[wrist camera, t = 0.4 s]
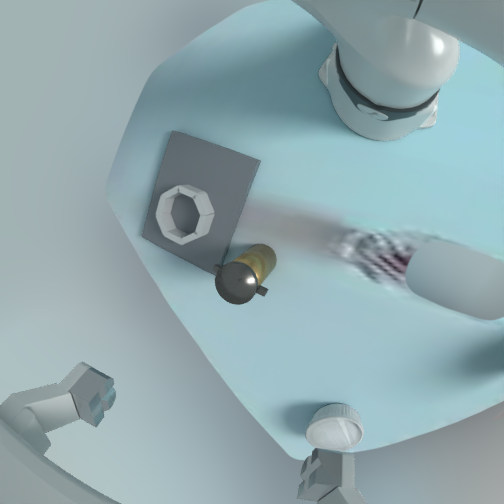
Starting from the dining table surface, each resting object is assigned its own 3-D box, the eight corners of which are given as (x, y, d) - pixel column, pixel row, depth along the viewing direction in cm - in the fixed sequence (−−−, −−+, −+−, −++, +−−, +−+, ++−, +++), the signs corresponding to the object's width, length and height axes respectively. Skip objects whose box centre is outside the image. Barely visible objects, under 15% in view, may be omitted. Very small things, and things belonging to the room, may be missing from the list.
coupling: (234, 263, 49) (202, 288, 38) (246, 234, 48) (214, 252, 37) (276, 283, 48) (254, 315, 37) (289, 254, 46) (270, 279, 35)
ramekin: (375, 414, 49) (375, 432, 44) (339, 440, 53) (336, 458, 48) (333, 390, 50) (330, 408, 45) (299, 419, 54) (294, 437, 49)
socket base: (176, 131, 47) (162, 128, 43) (260, 160, 44) (251, 159, 40) (146, 235, 54) (131, 240, 49) (219, 273, 51) (207, 281, 47)
